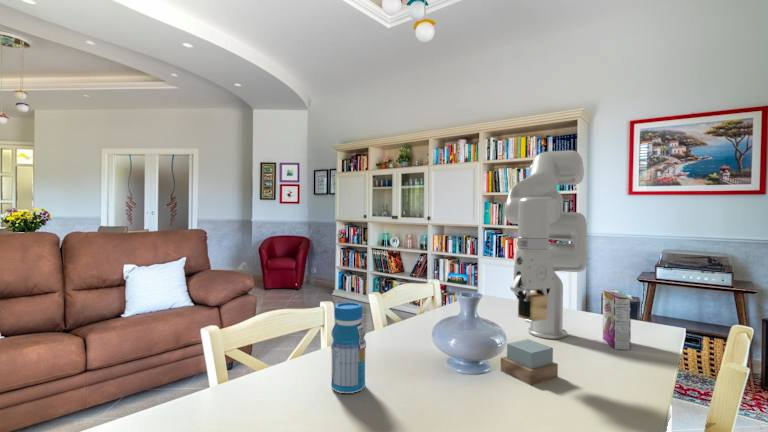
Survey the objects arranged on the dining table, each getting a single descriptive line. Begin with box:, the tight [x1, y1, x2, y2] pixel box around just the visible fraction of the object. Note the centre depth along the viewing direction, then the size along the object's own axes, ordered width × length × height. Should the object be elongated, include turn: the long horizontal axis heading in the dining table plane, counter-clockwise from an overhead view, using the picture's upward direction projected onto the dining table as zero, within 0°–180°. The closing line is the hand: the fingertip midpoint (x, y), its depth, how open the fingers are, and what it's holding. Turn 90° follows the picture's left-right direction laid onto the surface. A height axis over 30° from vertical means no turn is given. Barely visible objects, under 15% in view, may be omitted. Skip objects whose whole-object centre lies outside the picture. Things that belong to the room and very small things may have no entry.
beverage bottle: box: [330, 301, 367, 394], centre depth 97 cm, size 8×8×20 cm
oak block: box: [517, 291, 547, 321], centre depth 105 cm, size 5×5×6 cm
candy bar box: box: [602, 289, 632, 351], centre depth 129 cm, size 11×5×16 cm, turn 168°
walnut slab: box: [500, 356, 559, 386], centre depth 106 cm, size 10×10×4 cm
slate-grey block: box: [506, 338, 554, 369], centre depth 106 cm, size 8×8×4 cm
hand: (532, 313), depth 105 cm, fingers closed on oak block, 4 cm apart
